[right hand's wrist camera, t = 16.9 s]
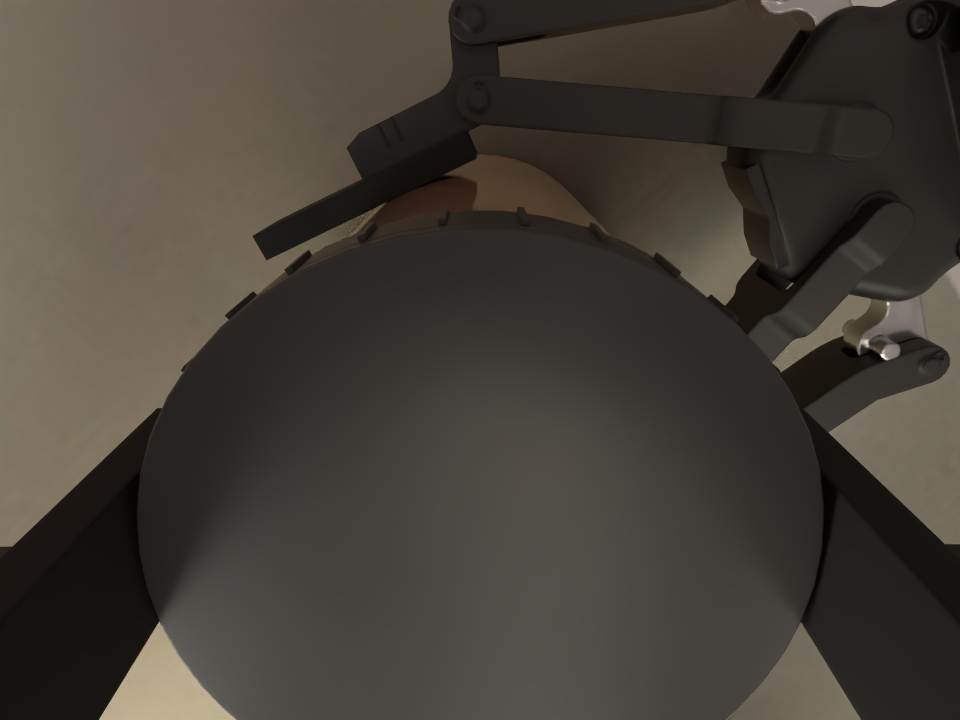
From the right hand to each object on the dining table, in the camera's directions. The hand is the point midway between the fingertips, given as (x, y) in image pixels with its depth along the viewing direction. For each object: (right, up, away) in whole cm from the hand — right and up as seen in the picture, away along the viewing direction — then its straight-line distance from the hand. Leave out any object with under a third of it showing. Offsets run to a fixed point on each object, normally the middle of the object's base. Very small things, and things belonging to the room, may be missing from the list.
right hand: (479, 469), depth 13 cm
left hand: (-4, +1, +9) cm, 9 cm away
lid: (0, -1, -2) cm, 3 cm away
